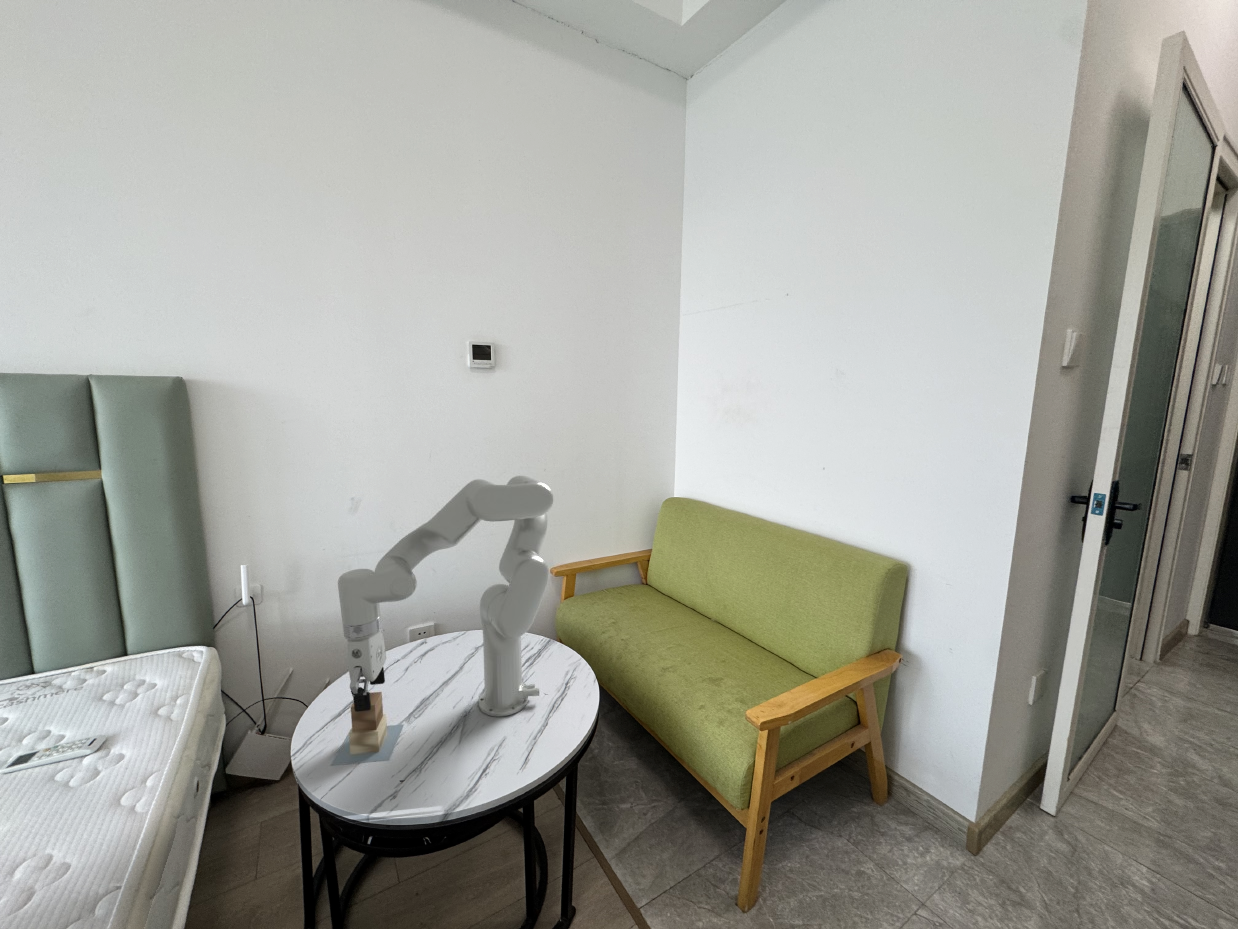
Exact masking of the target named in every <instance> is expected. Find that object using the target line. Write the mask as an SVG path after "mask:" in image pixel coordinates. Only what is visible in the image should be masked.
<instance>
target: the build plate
mask: <svg viewBox="0 0 1238 929" xmlns="http://www.w3.org/2000/svg"><path fill="white" fill-rule="evenodd" d="M404 726H405V724H403V723H401V724H392V725H387V735H386V738H385V740H384V742H383V744H382V746H381V749H380V751H379V752H371V753H360V754H350V742H349V733H350V731H351V729H350V730H349V732H348V734H347V735H346V737H345V739H344V740H343V742H342V745H341V746H340V747H339V750H338V752H337V753H336V755H335V757H334V758H333V760H332V761H331V763H330V767H331V766H333V767H334V766H341V765H353V764H355V765H356V764H362V763H363V764H365V763H374V762H384V761H385V762H386V761H390V760H391V757H392V755H393V753H394V751H395V748H396V746H397V743H398V740H399V738H400V735H401V733H402V731H403V728H404Z"/></svg>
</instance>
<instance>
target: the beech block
mask: <svg viewBox="0 0 1238 929" xmlns="http://www.w3.org/2000/svg"><path fill="white" fill-rule="evenodd" d="M387 723H388V722H387V714H384V713H383V717H382V719H381V721H380V723H379V726H378V728H377V730H369V731H358V732H352V728H350V730H351V731H350V730H349V732H350V733H349V732H348V733H349V742H350V754H360V753H371V752H379V751H380V749H381V746H382V744H383V742H384V740H385V738H386V735H387V726H388V724H387Z"/></svg>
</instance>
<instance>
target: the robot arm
mask: <svg viewBox="0 0 1238 929" xmlns="http://www.w3.org/2000/svg"><path fill="white" fill-rule="evenodd" d="M553 504H554V493H553V491H552V489H551V488H550V487H549V486H548V485H547V484H545V483H544V482H542V481H539V480H536V479H534V478H531V477H529V476H525V475H516V476H514V477H512V478H510V479H509V480H508V482H507V483H506V484H494V483H493V482H491V481H488V480H485V479H480V478H479V479H473V480H471V481H469V482H468V483H467V484H465V486H463V487H462V488H461V489H460V490H459V491H458V492H457V493H456V494H455V495H454V496H452V498H451V499H450V500H449V501H448V502H447V503H446V504H445V505H444V506H442V507H441V509H440V510H439V511H438V512H437V513H435V515H433V516H432V518H430V519H429V520H428V521H427V522H425V523H423V524H422V525H420V526H419V527H417V528H415V529H413V530H412V531H410V532H409V533H408V534H406V535H404V537H402V538H401V539H400V540H399V541H397V542H396V544H395V545H393V547H391V548H390V549H389V550H388V551H387V552H386V553H385V554H384V555H383V556H382V557H381V558H380V560H379V561H378V562H377V564H376V566H375V568H374V570H372V569H370V568H369V569H368V568H357V569H352V570H348V571H347V572H345V573H342V574H341V575H340V576H339V577H338V581H337V589H338V598H339V606H340V615H341V622H342V623H341V624H342V629H343V637H344V639H346V640H347V643H346V644H347V664H348V665H347V667H348V675H349V681H350V682H349V683H350V684H349V689H350V692H351V696H352V698H353V702H354V709H355V711H356V712H359V711H368V710H370V709H371V701H370V693H371V692H370V691H368V690H369V685H371V686H375V685H383V684H385V682H386V678H385V670H384V669H385V668H384V666H385V663H386V661H387V653H386V652H387V651H386V646H385V639H384V634H383V626H382V625H383V624H382V616H381V609H380V608H381V607H380V603H381V604H382V603H395V602H401V601H405V600H406V599H409V598H410V597H411V596H413V594H414V593H415V591H416V589H417V586H418V580H417V578H416V575H415V573H414V572H413V570H414V569H415V568H416V567H417V566H418V565H419V564H420V563H421V562H422V561H423V560H424V559H426V558H427V557H428V556H430V555H431V554H433V553H435V552H437V551H441V550H446V549H449V548H453V547H455V546H457V545H458V544H459V543H460V542H462V540H463V539H464V538H466V536H467V535H468V534H469V533H470V532H471V531H472V530H474V528H475V527H476V526H477V525H478V524H479V523H480V522H481V521H484V522H490V523H491V522H492V523H493V522H507V521H508V522H509V521H514V522H513V526H512V529H511V533H510V535H509V538H508V541H507V543H506V545H505V548H504V551H503V552H502V556H501V558H500V560H499V564H498V570H499V573H500V575H501V577H502V578H503V579H504V580H505V581H506V582H507V583H509V584H508V585H507V584H504V583H496V584H493V585H490V586H489V587H488V588H486V590H484V592H483V593H482V596H481V598H480V602H479V614H480V622H481V629H482V640H483V642H482V644H483V646H482V647H483V675H484V676H483V678H484V679H483V681H484V692H482V694H481V695H480V697H479V699H478V707H479V710H480V711H481V712H482V713H483V714H485V715H488V716H489V717H490V716H491V717H506V716H511V715H513V714H516V713H518V712H520V711H521V710H523V709H524V708H525V706H527V704H528V701H529V697H540V687H536V685H535V683H530V684H526V683H524V680H525V679H524V678H523V672H522V669H523V668H522V636H523V635H525V634H526V633H527V632H528V631H529V630H530V628H531V626H532V625H533V623H534V621H535V618H536V616H537V613H538V611H539V609H540V606H541V603H542V600H543V598H544V596H545V593H546V592H547V591H546V589H547V588H548V585H549V581H550V570H549V566H548V564H547V562H546V561H545V560H544V559H543V558H542V557H541V556H540V553H541V549H542V547H543V543H544V541H545V540H544V539H545V537H546V534H547V529H548V514H547V513H548V512H549V511H550V510H551V509H552V506H553ZM361 678H362V679H361ZM359 684H363V687H361V686H360V685H359Z"/></svg>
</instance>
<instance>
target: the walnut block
mask: <svg viewBox="0 0 1238 929" xmlns="http://www.w3.org/2000/svg"><path fill="white" fill-rule="evenodd" d="M382 693H383V692H382V691H375V692H370V701H371V709H370V710H368V711H359V712H356V711H355V709H354V701H353V702H352V703H351V706H350V717H351V729H352V732H358V731H369V730H377V728H378V726H379V723H380V721H381V719H382V717H383V714H384V707H383V694H382Z"/></svg>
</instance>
